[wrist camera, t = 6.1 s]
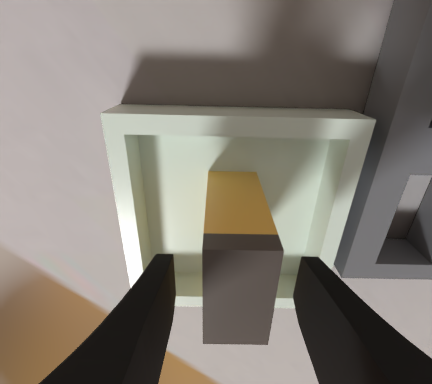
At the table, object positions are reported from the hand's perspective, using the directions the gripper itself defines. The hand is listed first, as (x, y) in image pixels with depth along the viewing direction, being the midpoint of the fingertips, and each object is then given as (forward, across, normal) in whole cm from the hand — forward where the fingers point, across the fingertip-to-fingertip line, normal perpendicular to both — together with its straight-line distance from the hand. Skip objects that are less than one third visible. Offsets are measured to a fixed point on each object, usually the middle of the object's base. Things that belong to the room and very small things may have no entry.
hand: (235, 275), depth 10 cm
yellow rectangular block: (+5, 0, 0) cm, 5 cm away
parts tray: (+5, 0, 0) cm, 5 cm away
